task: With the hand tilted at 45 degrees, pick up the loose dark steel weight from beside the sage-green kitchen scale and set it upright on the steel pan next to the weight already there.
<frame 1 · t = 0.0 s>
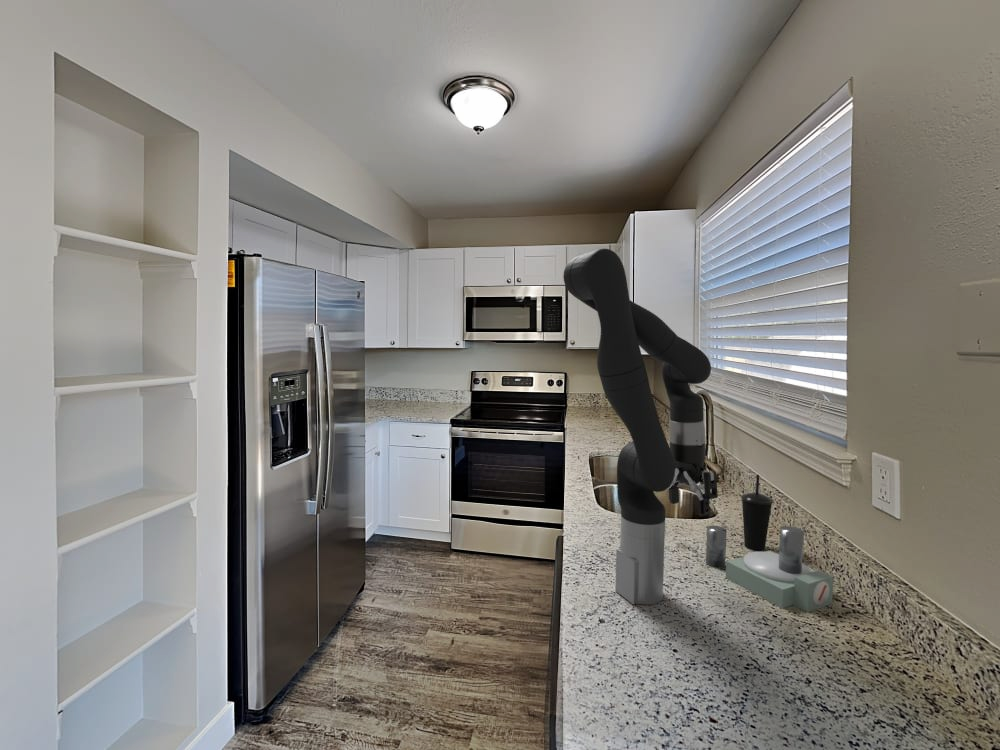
hand: (688, 509, 107), 17 cm above the worktop, tool pointing down, fingers open, 8 cm apart
steel weight a: (789, 569, 104), point 5 cm above the worktop, touching kitchen scale
kitchen scale: (774, 585, 107), on the worktop
steel weight b: (715, 564, 117), on the worktop
drinking cup: (754, 548, 127), on the worktop
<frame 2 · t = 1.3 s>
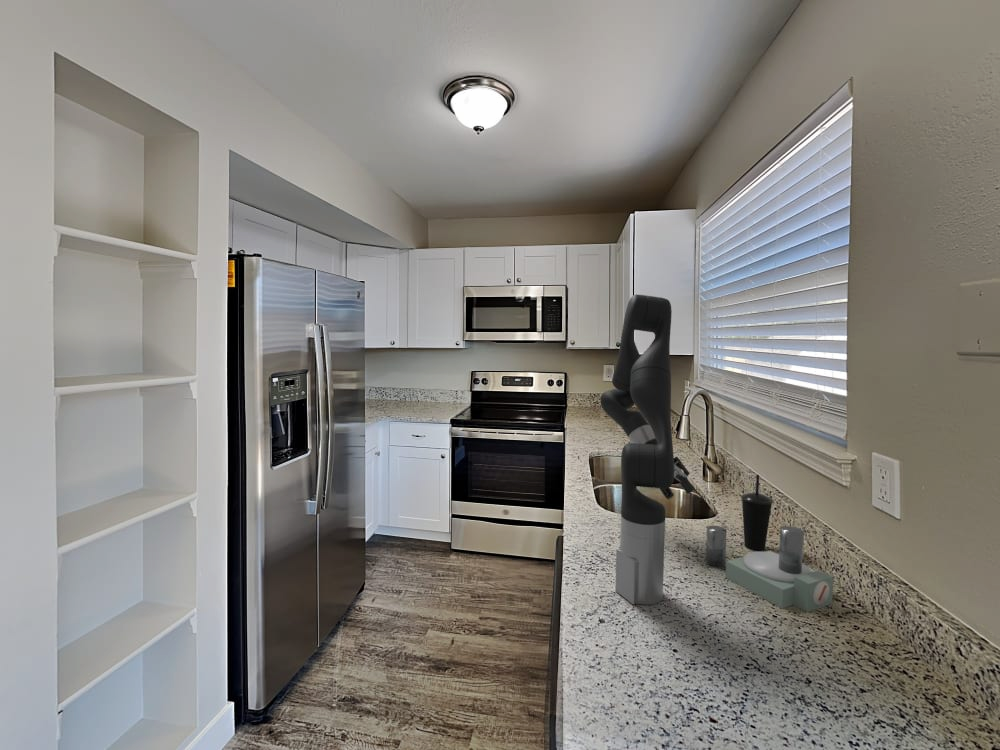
hand: (681, 494, 125), 15 cm above the worktop, tool tilted 45°, fingers open, 8 cm apart
nothing on the worktop moved.
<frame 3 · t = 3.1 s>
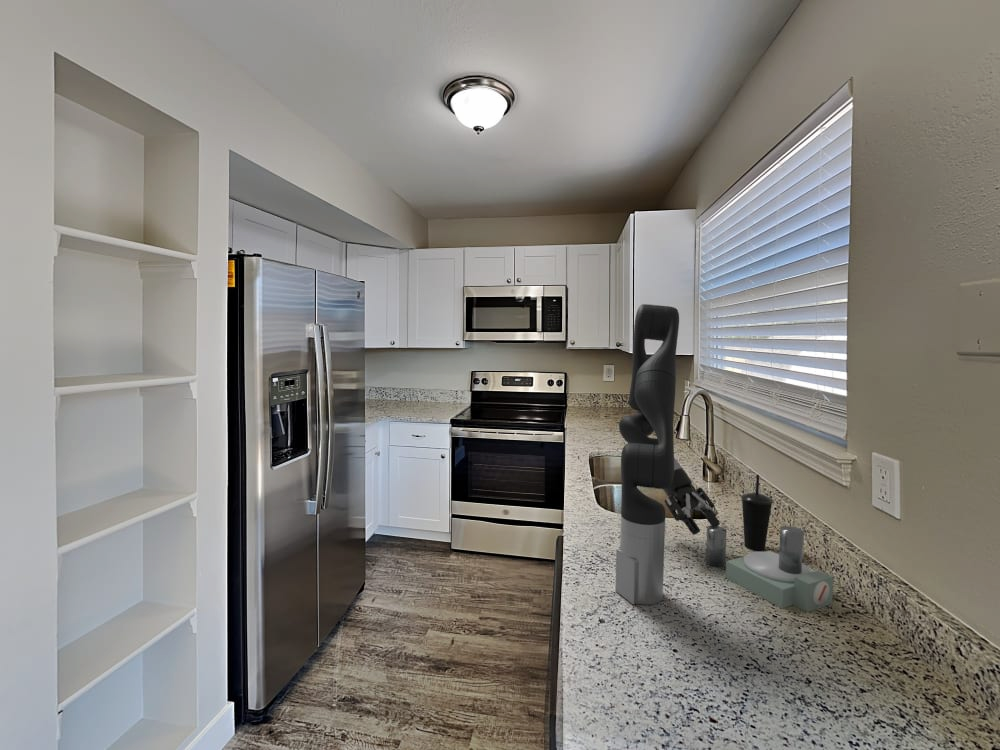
hand: (707, 529, 119), 8 cm above the worktop, tool tilted 45°, fingers open, 8 cm apart
nothing on the worktop moved.
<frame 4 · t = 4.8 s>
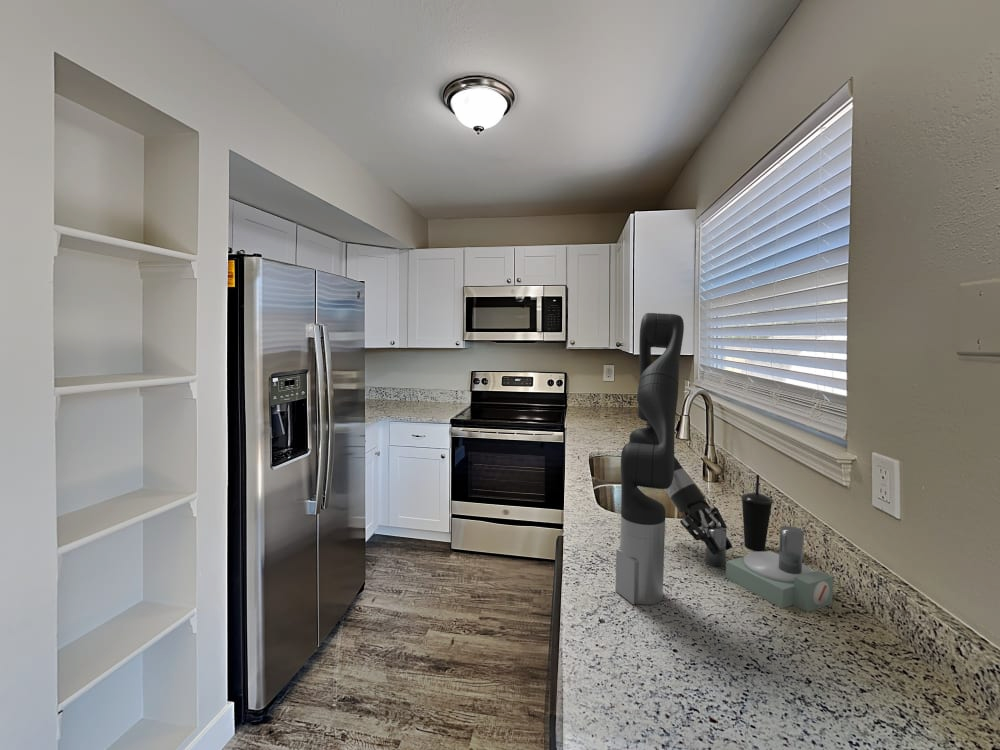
hand: (723, 550, 115), 4 cm above the worktop, tool tilted 45°, fingers closed on steel weight b, 4 cm apart
steel weight b: (715, 564, 117), on the worktop, touching gripper
everything else where it was.
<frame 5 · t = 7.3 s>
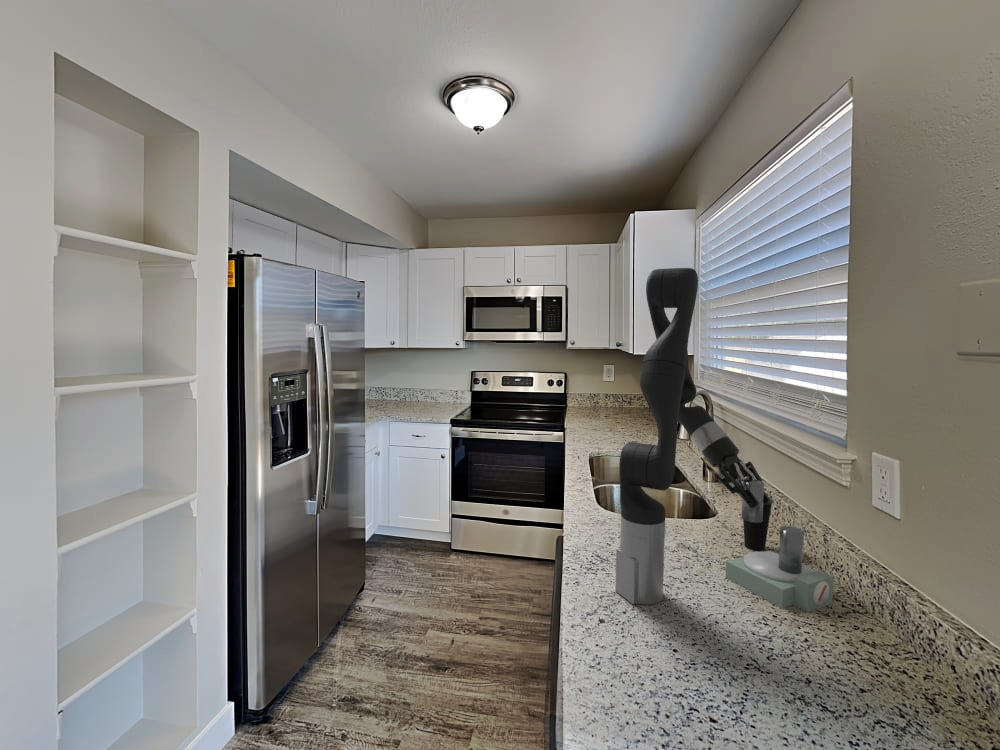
hand: (761, 504, 109), 18 cm above the worktop, tool tilted 45°, fingers closed on steel weight b, 4 cm apart
steel weight b: (751, 519, 110), point 14 cm above the worktop, touching gripper
everything else where it was.
when the fingers open (10 cm above the worktop, at t = 9.7 s): steel weight b drops 1 cm, resting on kitchen scale.
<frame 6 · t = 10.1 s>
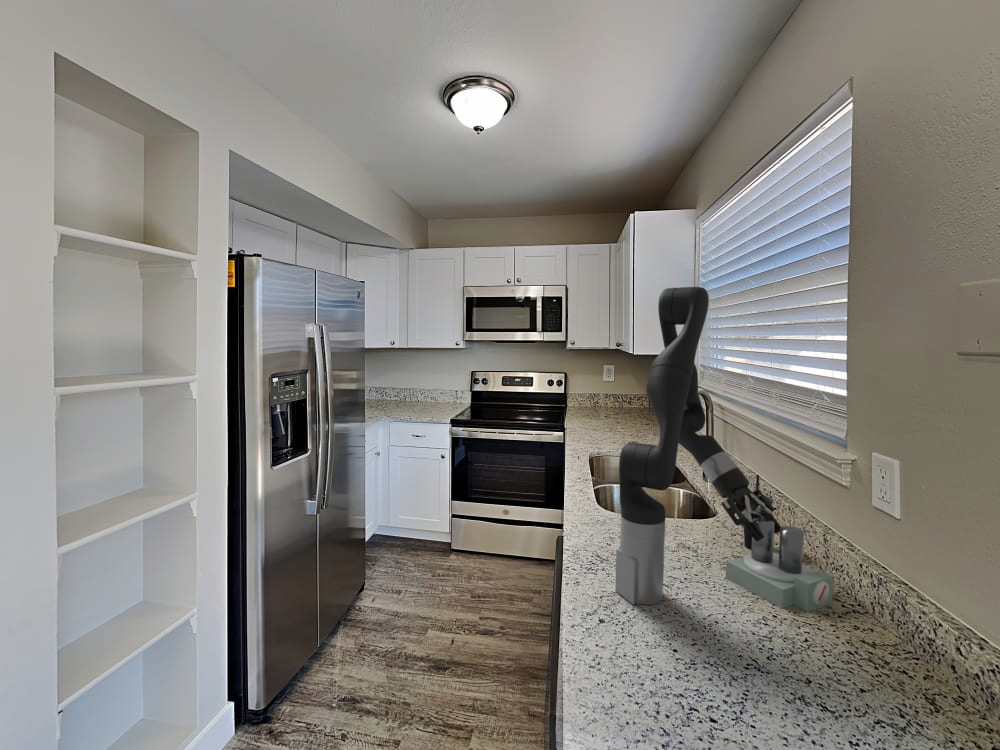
hand: (770, 535, 107), 11 cm above the worktop, tool tilted 45°, fingers open, 8 cm apart
steel weight b: (761, 558, 109), point 5 cm above the worktop, touching kitchen scale
everything else where it was.
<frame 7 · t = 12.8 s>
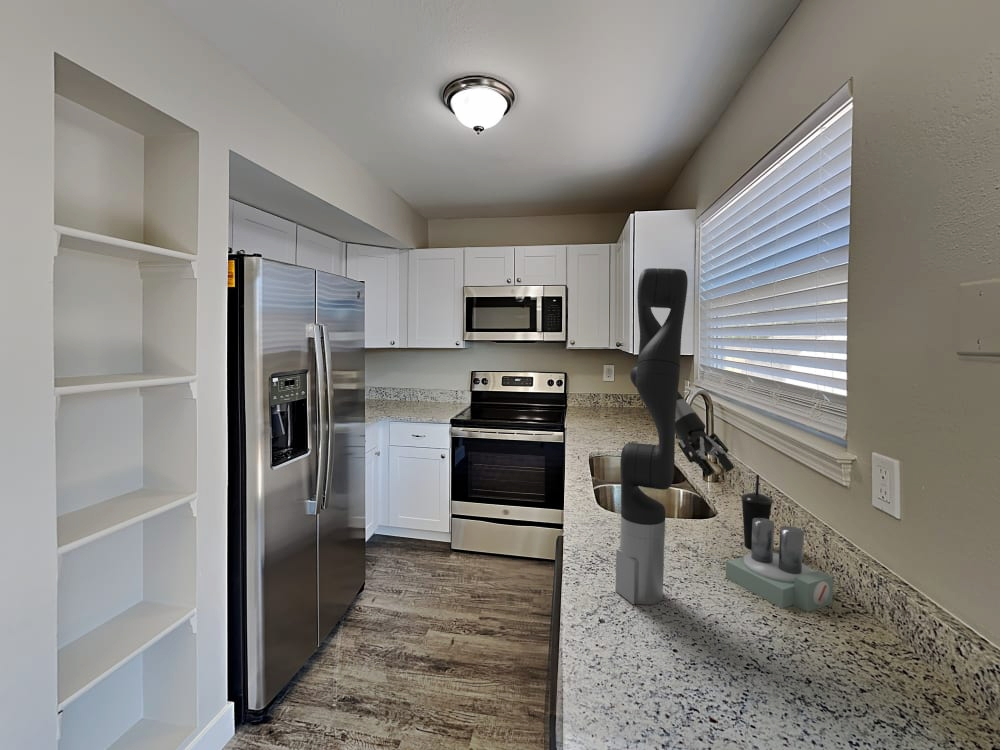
hand: (721, 472, 117), 23 cm above the worktop, tool tilted 45°, fingers open, 8 cm apart
nothing on the worktop moved.
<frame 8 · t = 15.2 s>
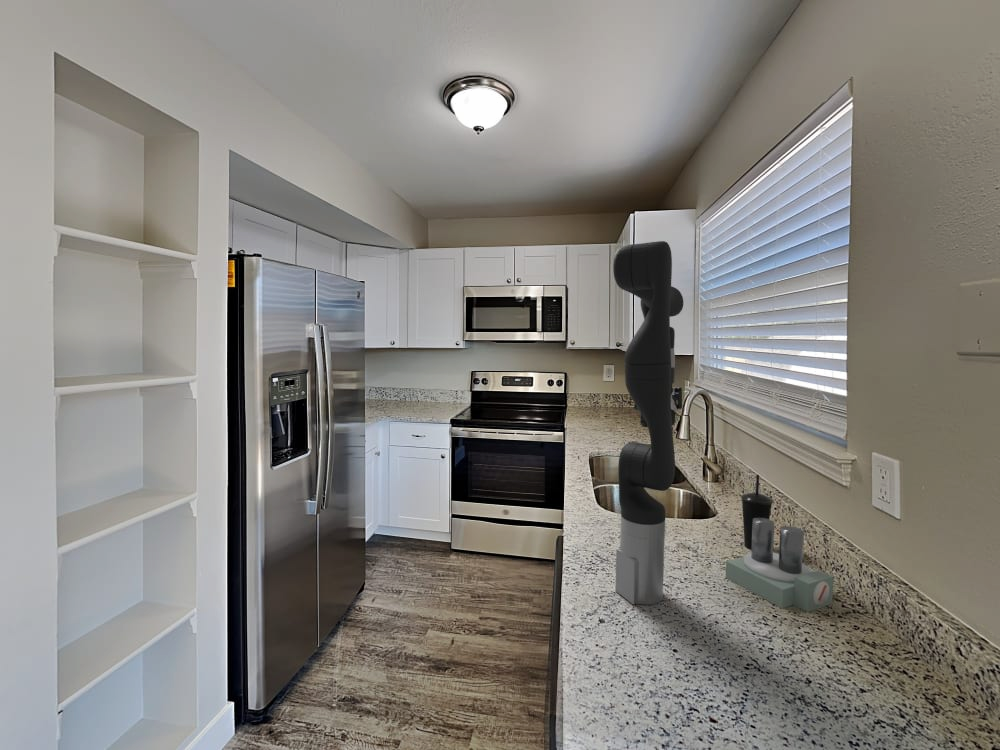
hand: (657, 426, 125), 33 cm above the worktop, tool pointing down, fingers open, 8 cm apart
nothing on the worktop moved.
at the end: steel weight b inside the target area on the kitchen scale (3.2 cm from its centre), point 5.0 cm above the kitchen scale's base; steel weight b tilted 0°; steel weight a moved 0.0 cm from its start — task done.
